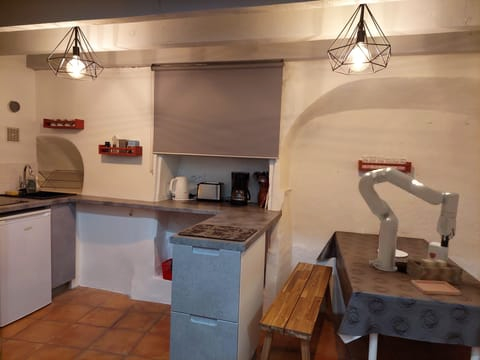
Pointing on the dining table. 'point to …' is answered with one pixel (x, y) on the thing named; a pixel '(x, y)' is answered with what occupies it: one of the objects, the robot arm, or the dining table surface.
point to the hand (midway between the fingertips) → (444, 246)
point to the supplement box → (437, 251)
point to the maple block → (433, 262)
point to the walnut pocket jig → (434, 272)
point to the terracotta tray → (435, 287)
